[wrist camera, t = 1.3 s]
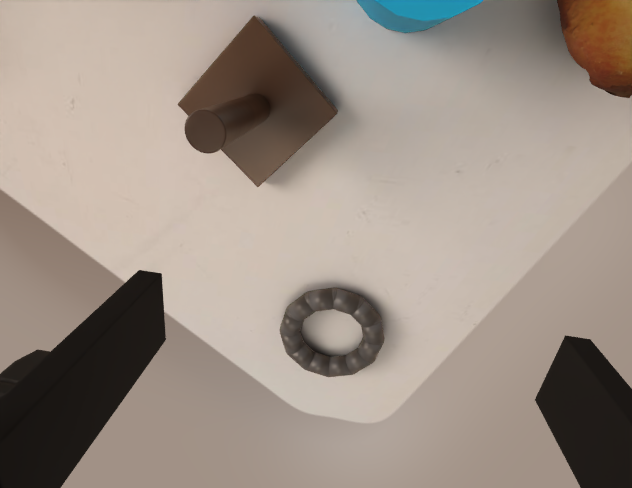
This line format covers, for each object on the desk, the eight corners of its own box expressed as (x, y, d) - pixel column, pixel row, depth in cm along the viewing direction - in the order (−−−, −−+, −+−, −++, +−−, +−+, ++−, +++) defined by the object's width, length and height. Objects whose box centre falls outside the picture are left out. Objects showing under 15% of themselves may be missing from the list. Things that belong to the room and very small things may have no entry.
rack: (185, 102, 29) (89, 124, 19) (259, 17, 26) (194, -12, 16) (262, 181, 31) (213, 242, 21) (338, 110, 28) (326, 139, 18)
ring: (262, 321, 37) (258, 333, 35) (336, 266, 34) (335, 276, 32) (328, 381, 39) (326, 395, 37) (403, 334, 36) (405, 347, 34)
